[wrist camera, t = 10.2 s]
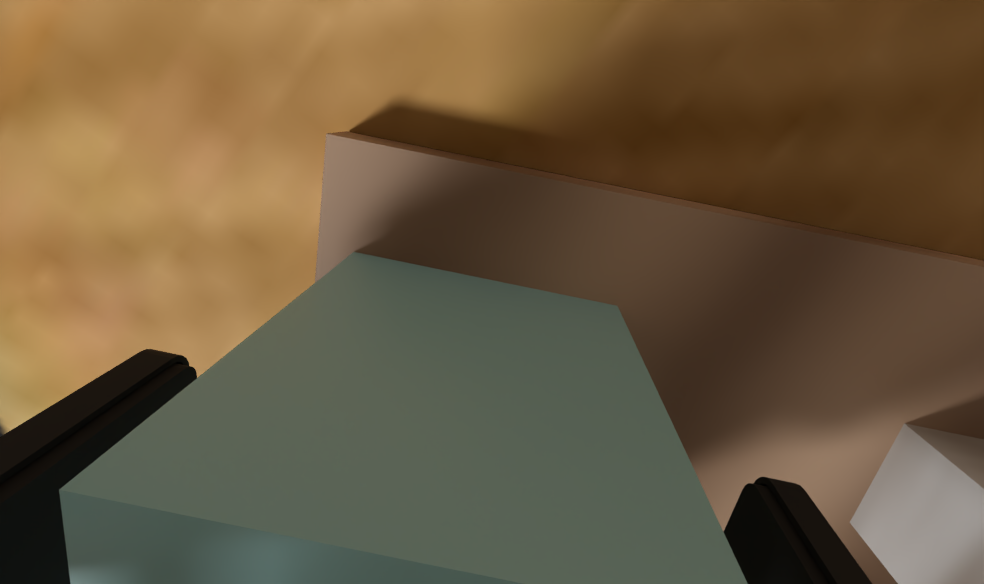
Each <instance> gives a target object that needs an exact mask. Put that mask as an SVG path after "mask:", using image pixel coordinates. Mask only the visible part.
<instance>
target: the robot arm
mask: <svg viewBox="0 0 984 584" xmlns="http://www.w3.org/2000/svg"><path fill="white" fill-rule="evenodd" d="M196 379H197V375H196V371H195V369H194V368H193V367H191V366H189V362H188V361H187V359H186V358H185V357H184V356H181V355H176V354H172V353H167V352H162V351H157V350H152V349H146V350H143V351H141V352H139V353H137V354H136V355H134V356H133V357H131V358H129V359H128V360H126V361H124V362H123V363H121V364H119V365H118V366H116V367H115V368H113V369H111V370H110V371H108V372H106V373H105V374H103V375H101V376H100V377H98V378H96V379H95V380H93V381H92V382H90V383H88V384H87V385H85V386H83V387H82V388H80V389H78V390H77V391H75V392H73V393H72V394H70V395H69V396H67V397H65V398H64V399H62V400H60V401H59V402H57V403H55V404H54V405H52V406H50V407H49V408H47V409H46V410H44V411H42V412H41V413H39V414H37V415H36V416H34V417H32V418H31V419H29V420H27V421H26V422H24V423H23V424H21V425H19V426H18V427H16V428H14V429H13V430H11V431H9V432H8V433H6V434H4V435H3V436H1V437H0V584H71V583H70V575H69V567H68V559H67V551H66V542H65V534H64V526H63V518H62V510H61V501H60V493H59V489H61V488H62V487H63V486H64V485H66V484H67V483H68V482H69V481H71V480H72V479H73V478H74V477H75V476H77V475H78V474H79V473H80V472H82V471H83V470H84V469H85V468H87V467H88V466H89V465H90V464H92V463H93V462H94V461H95V460H97V459H98V458H99V457H100V456H101V455H103V454H104V453H105V452H106V451H108V450H109V449H110V448H111V447H113V446H114V445H115V444H116V443H118V442H119V441H120V440H121V439H123V438H124V437H125V436H126V435H127V434H129V433H130V432H131V431H132V430H134V429H135V428H136V427H137V426H139V425H140V424H141V423H142V422H144V421H145V420H146V419H147V418H149V417H150V416H151V415H152V414H153V413H155V412H156V411H157V410H158V409H160V408H161V407H162V406H163V405H165V404H166V403H167V402H168V401H170V400H171V399H172V398H173V397H175V396H176V395H177V394H178V393H179V392H181V391H182V390H183V389H184V388H186V387H187V386H188V385H189V384H191V383H192V382H193V381H194V380H196ZM724 534H725V536H726V539H727V541H728V543H729V545H730V547H731V549H732V551H733V554H734V556H735V558H736V560H737V562H738V564H739V566H740V568H741V571H742V573H743V575H744V577H745V579H746V581H747V583H748V584H872V582H871V581H870V580H869V578H868V577H867V575H866V574H865V573H864V571H863V570H862V569H861V567H860V566H859V564H858V563H857V562H856V560H855V559H854V557H853V556H852V555H851V553H850V552H849V550H848V549H847V548H846V546H845V545H844V544H843V542H842V541H841V539H840V538H839V537H838V535H837V534H836V532H835V531H834V530H833V528H832V527H831V526H830V524H829V523H828V521H827V520H826V519H825V517H824V516H823V514H822V513H821V512H820V510H819V509H818V507H817V506H816V505H815V503H814V502H813V501H812V499H811V498H810V496H809V495H808V494H807V492H806V491H805V490H804V489H803V488H802V487H801V485H798V484H796V483H792V482H787V481H782V480H777V479H773V478H768V477H759V478H758V479H757V480H755V482H754V483H748V484H746V485H745V486H744V488H743V489H742V492H741V494H740V496H739V498H738V501H737V503H736V505H735V507H734V509H733V512H732V514H731V516H730V518H729V521H728V523H727V525H726V527H725V530H724Z"/></svg>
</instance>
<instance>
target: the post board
mask: <svg viewBox="0 0 984 584" xmlns="http://www.w3.org/2000/svg"><path fill="white" fill-rule="evenodd" d="M353 252H357V253H362V254H367V255H372V256H377V257H381V258H386V259H391V260H396V261H401V262H406V263H411V264H416V265H420V266H425V267H430V268H435V269H440V270H445V271H450V272H455V273H460V274H464V275H469V276H474V277H479V278H484V279H489V280H494V281H499V282H504V283H508V284H513V285H518V286H523V287H528V288H533V289H538V290H543V291H548V292H552V293H557V294H562V295H567V296H572V297H577V298H582V299H587V300H592V301H596V302H601V303H606V304H611V305H616V306H618V308H619V310H620V312H621V315H622V317H623V319H624V321H625V323H626V325H627V327H628V329H629V332H630V334H631V336H632V338H633V340H634V342H635V344H636V347H637V349H638V351H639V353H640V355H641V357H642V359H643V361H644V364H645V366H646V368H647V370H648V372H649V374H650V376H651V379H652V381H653V383H654V385H655V387H656V389H657V391H658V393H659V396H660V398H661V400H662V402H663V404H664V406H665V408H666V411H667V413H668V415H669V417H670V419H671V421H672V423H673V425H674V428H675V430H676V432H677V434H678V436H679V438H680V440H681V443H682V445H683V447H684V449H685V451H686V453H687V455H688V457H689V460H690V462H691V464H692V466H693V468H694V470H695V472H696V475H697V477H698V479H699V481H700V483H701V485H702V487H703V489H704V492H705V494H706V496H707V498H708V500H709V502H710V504H711V507H712V509H713V511H714V513H715V515H716V517H717V519H718V521H719V524H720V526H721V528H722V530H723V532H724V530H725V527H726V525H727V523H728V521H729V518H730V516H731V514H732V512H733V509H734V507H735V505H736V503H737V501H738V498H739V496H740V494H741V492H742V489H743V488H744V486H745V485H746V484H748V483H754V482H755V480H757V479H758V478H759V477H768V478H773V479H777V480H782V481H787V482H792V483H796V484H798V485H801V487H802V488H803V489H804V490H805V491H806V492H807V494H808V495H809V496H810V498H811V499H812V501H813V502H814V503H815V505H816V506H817V507H818V509H819V510H820V512H821V513H822V514H823V516H824V517H825V519H826V520H827V521H828V523H829V524H830V526H831V527H832V528H833V530H834V531H835V532H836V534H837V535H838V537H839V538H840V539H841V541H842V542H843V544H844V545H845V546H846V548H847V549H848V550H849V552H850V553H851V555H852V556H853V557H854V559H855V560H856V562H857V563H858V564H859V566H860V567H861V569H862V570H863V571H864V573H865V574H866V575H867V577H868V578H869V580H870V581H871V582H872V584H984V261H983V260H978V259H974V258H969V257H964V256H959V255H954V254H949V253H944V252H939V251H934V250H929V249H924V248H919V247H914V246H909V245H904V244H900V243H895V242H890V241H885V240H880V239H875V238H870V237H865V236H860V235H855V234H850V233H845V232H840V231H835V230H830V229H826V228H821V227H816V226H811V225H806V224H801V223H796V222H791V221H786V220H781V219H776V218H771V217H766V216H761V215H756V214H752V213H747V212H742V211H737V210H732V209H727V208H722V207H717V206H712V205H707V204H702V203H697V202H692V201H687V200H683V199H678V198H673V197H668V196H663V195H658V194H653V193H648V192H643V191H638V190H633V189H628V188H623V187H618V186H613V185H609V184H604V183H599V182H594V181H589V180H584V179H579V178H574V177H569V176H564V175H559V174H554V173H549V172H544V171H539V170H535V169H530V168H525V167H520V166H515V165H510V164H505V163H500V162H495V161H490V160H485V159H480V158H475V157H470V156H465V155H461V154H456V153H451V152H446V151H441V150H436V149H431V148H426V147H421V146H416V145H411V144H406V143H401V142H396V141H391V140H387V139H382V138H377V137H372V136H367V135H362V134H357V133H352V132H338V133H328V134H326V145H325V158H324V172H323V185H322V198H321V211H320V224H319V238H318V251H317V264H316V277H315V283H316V282H317V281H318V280H319V279H321V278H322V277H323V276H324V275H326V274H327V273H328V272H329V271H331V270H332V269H333V268H334V267H336V266H337V265H338V264H339V263H341V262H342V261H343V260H344V259H345V258H347V257H348V256H349V255H350V254H352V253H353Z"/></svg>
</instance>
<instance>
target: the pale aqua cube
mask: <svg viewBox="0 0 984 584" xmlns="http://www.w3.org/2000/svg"><path fill="white" fill-rule="evenodd" d="M59 493H60V501H61V510H62V518H63V526H64V534H65V542H66V551H67V559H68V567H69V575H70V583H71V584H748V583H747V581H746V579H745V577H744V575H743V573H742V571H741V568H740V566H739V564H738V562H737V560H736V558H735V556H734V554H733V551H732V549H731V547H730V545H729V543H728V541H727V539H726V536H725V534H724V532H723V530H722V528H721V526H720V524H719V521H718V519H717V517H716V515H715V513H714V511H713V509H712V507H711V504H710V502H709V500H708V498H707V496H706V494H705V492H704V489H703V487H702V485H701V483H700V481H699V479H698V477H697V475H696V472H695V470H694V468H693V466H692V464H691V462H690V460H689V457H688V455H687V453H686V451H685V449H684V447H683V445H682V443H681V440H680V438H679V436H678V434H677V432H676V430H675V428H674V425H673V423H672V421H671V419H670V417H669V415H668V413H667V411H666V408H665V406H664V404H663V402H662V400H661V398H660V396H659V393H658V391H657V389H656V387H655V385H654V383H653V381H652V379H651V376H650V374H649V372H648V370H647V368H646V366H645V364H644V361H643V359H642V357H641V355H640V353H639V351H638V349H637V347H636V344H635V342H634V340H633V338H632V336H631V334H630V332H629V329H628V327H627V325H626V323H625V321H624V319H623V317H622V315H621V312H620V310H619V308H618V306H616V305H611V304H606V303H601V302H596V301H592V300H587V299H582V298H577V297H572V296H567V295H562V294H557V293H552V292H548V291H543V290H538V289H533V288H528V287H523V286H518V285H513V284H508V283H504V282H499V281H494V280H489V279H484V278H479V277H474V276H469V275H464V274H460V273H455V272H450V271H445V270H440V269H435V268H430V267H425V266H420V265H416V264H411V263H406V262H401V261H396V260H391V259H386V258H381V257H377V256H372V255H367V254H362V253H357V252H353V253H352V254H350V255H349V256H348V257H347V258H345V259H344V260H343V261H342V262H341V263H339V264H338V265H337V266H336V267H334V268H333V269H332V270H331V271H329V272H328V273H327V274H326V275H324V276H323V277H322V278H321V279H319V280H318V281H317V282H316V283H314V284H313V285H312V286H311V287H310V288H308V289H307V290H306V291H305V292H303V293H302V294H301V295H300V296H298V297H297V298H296V299H295V300H293V301H292V302H291V303H290V304H288V305H287V306H286V307H285V308H284V309H282V310H281V311H280V312H279V313H277V314H276V315H275V316H274V317H272V318H271V319H270V320H269V321H267V322H266V323H265V324H264V325H262V326H261V327H260V328H259V329H258V330H256V331H255V332H254V333H253V334H251V335H250V336H249V337H248V338H246V339H245V340H244V341H243V342H241V343H240V344H239V345H238V346H236V347H235V348H234V349H233V350H232V351H230V352H229V353H228V354H227V355H225V356H224V357H223V358H222V359H220V360H219V361H218V362H217V363H215V364H214V365H213V366H212V367H210V368H209V369H208V370H207V371H206V372H204V373H203V374H202V375H201V376H199V377H198V378H197V379H196V380H194V381H193V382H192V383H191V384H189V385H188V386H187V387H186V388H184V389H183V390H182V391H181V392H179V393H178V394H177V395H176V396H175V397H173V398H172V399H171V400H170V401H168V402H167V403H166V404H165V405H163V406H162V407H161V408H160V409H158V410H157V411H156V412H155V413H153V414H152V415H151V416H150V417H149V418H147V419H146V420H145V421H144V422H142V423H141V424H140V425H139V426H137V427H136V428H135V429H134V430H132V431H131V432H130V433H129V434H127V435H126V436H125V437H124V438H123V439H121V440H120V441H119V442H118V443H116V444H115V445H114V446H113V447H111V448H110V449H109V450H108V451H106V452H105V453H104V454H103V455H101V456H100V457H99V458H98V459H97V460H95V461H94V462H93V463H92V464H90V465H89V466H88V467H87V468H85V469H84V470H83V471H82V472H80V473H79V474H78V475H77V476H75V477H74V478H73V479H72V480H71V481H69V482H68V483H67V484H66V485H64V486H63V487H62V488H61V489H59Z"/></svg>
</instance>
